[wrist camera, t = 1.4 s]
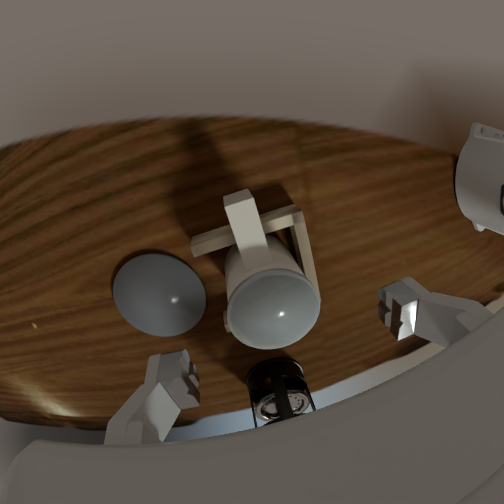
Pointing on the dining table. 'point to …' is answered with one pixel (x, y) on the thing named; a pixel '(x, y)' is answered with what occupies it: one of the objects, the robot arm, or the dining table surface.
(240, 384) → the dining table surface
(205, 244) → the stand
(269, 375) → the french press
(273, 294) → the white handled cylinder
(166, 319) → the mat
